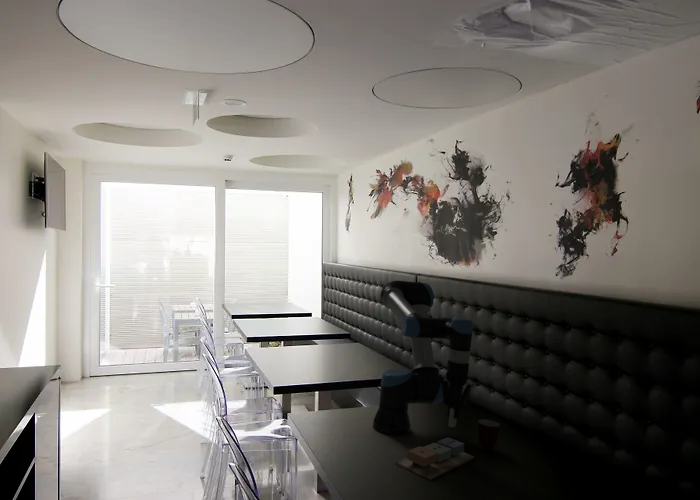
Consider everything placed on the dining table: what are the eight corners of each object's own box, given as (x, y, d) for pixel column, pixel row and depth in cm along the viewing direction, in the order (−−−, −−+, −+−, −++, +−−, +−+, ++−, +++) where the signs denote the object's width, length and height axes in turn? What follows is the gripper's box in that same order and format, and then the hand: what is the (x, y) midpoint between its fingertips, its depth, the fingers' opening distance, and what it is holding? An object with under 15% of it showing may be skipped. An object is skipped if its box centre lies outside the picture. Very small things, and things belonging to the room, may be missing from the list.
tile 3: (436, 449, 179) (437, 441, 179) (447, 444, 185) (447, 437, 185) (453, 455, 175) (454, 447, 175) (463, 451, 180) (464, 443, 180)
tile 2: (422, 455, 173) (423, 446, 173) (433, 450, 178) (434, 442, 178) (439, 462, 168) (440, 453, 168) (450, 457, 173) (451, 449, 173)
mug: (497, 458, 181) (500, 430, 181) (474, 453, 183) (477, 426, 183) (497, 447, 191) (499, 421, 191) (475, 443, 193) (477, 418, 193)
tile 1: (407, 459, 166) (407, 450, 166) (419, 454, 171) (419, 446, 171) (424, 466, 161) (425, 458, 161) (436, 461, 167) (437, 453, 167)
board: (395, 464, 168) (396, 456, 168) (440, 445, 188) (441, 438, 188) (430, 479, 158) (431, 471, 158) (474, 458, 178) (474, 451, 178)
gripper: (437, 358, 181) (431, 422, 182) (469, 366, 172) (462, 434, 173) (448, 356, 187) (442, 418, 187) (480, 364, 178) (473, 429, 178)
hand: (452, 426), depth 180 cm, fingers closed
